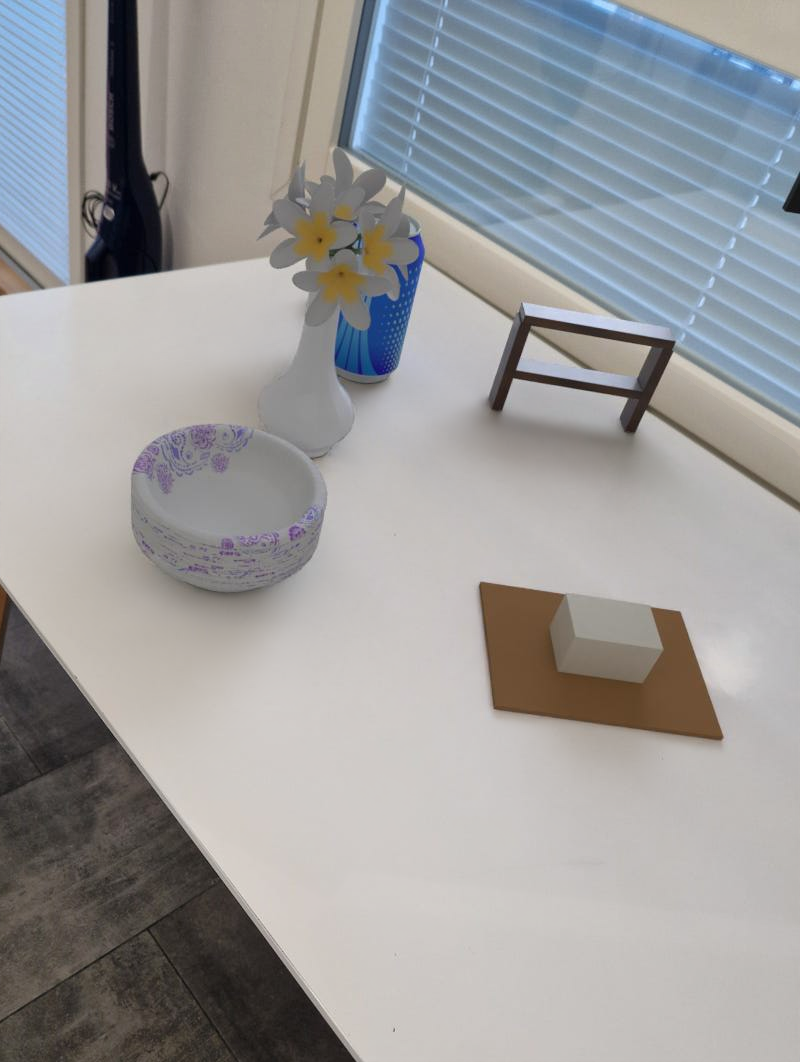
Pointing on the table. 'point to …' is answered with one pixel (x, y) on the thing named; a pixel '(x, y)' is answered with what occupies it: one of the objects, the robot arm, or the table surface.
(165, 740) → the table surface
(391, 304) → the beer can
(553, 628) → the white cardboard box
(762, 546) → the table surface
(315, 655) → the table surface
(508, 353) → the rack
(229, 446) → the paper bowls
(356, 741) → the table surface
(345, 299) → the flower vase
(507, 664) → the mat
